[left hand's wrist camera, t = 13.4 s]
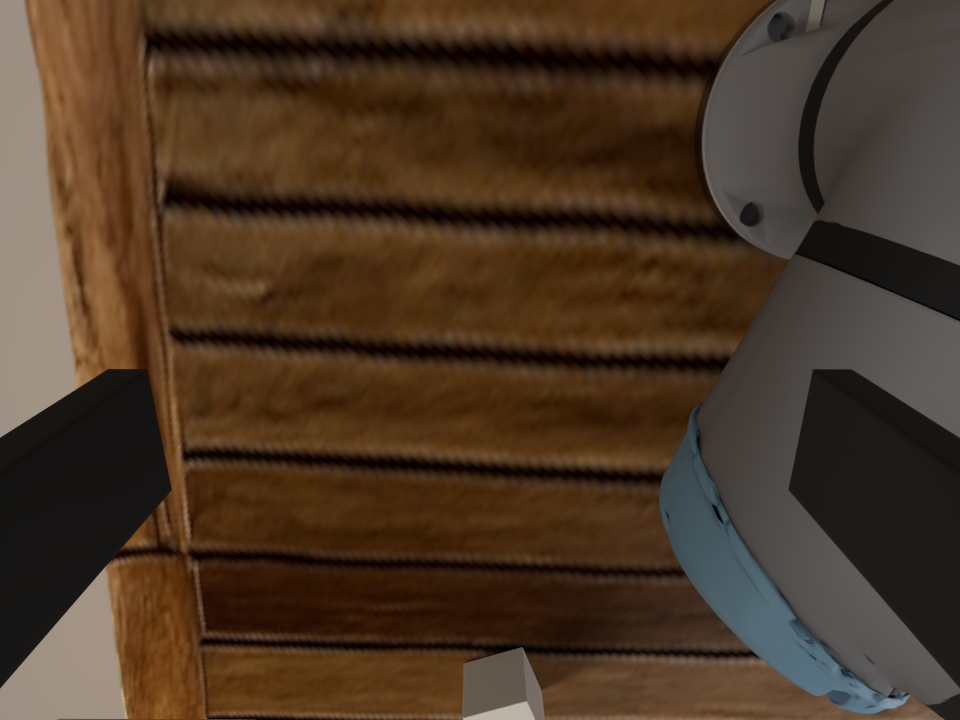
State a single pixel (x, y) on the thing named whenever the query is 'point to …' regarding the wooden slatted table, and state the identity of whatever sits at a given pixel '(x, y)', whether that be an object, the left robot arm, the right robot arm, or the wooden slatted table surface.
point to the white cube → (502, 688)
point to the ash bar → (156, 719)
